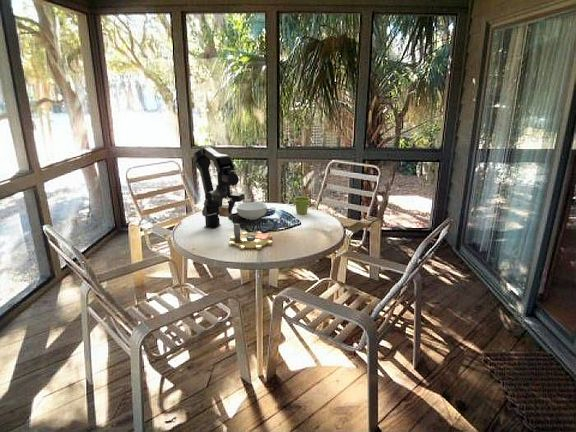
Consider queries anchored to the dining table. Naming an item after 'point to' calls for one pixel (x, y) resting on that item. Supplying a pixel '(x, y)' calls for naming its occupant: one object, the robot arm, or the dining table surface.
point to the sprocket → (249, 239)
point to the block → (224, 211)
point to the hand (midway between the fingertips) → (225, 213)
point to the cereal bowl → (252, 210)
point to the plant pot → (301, 205)
